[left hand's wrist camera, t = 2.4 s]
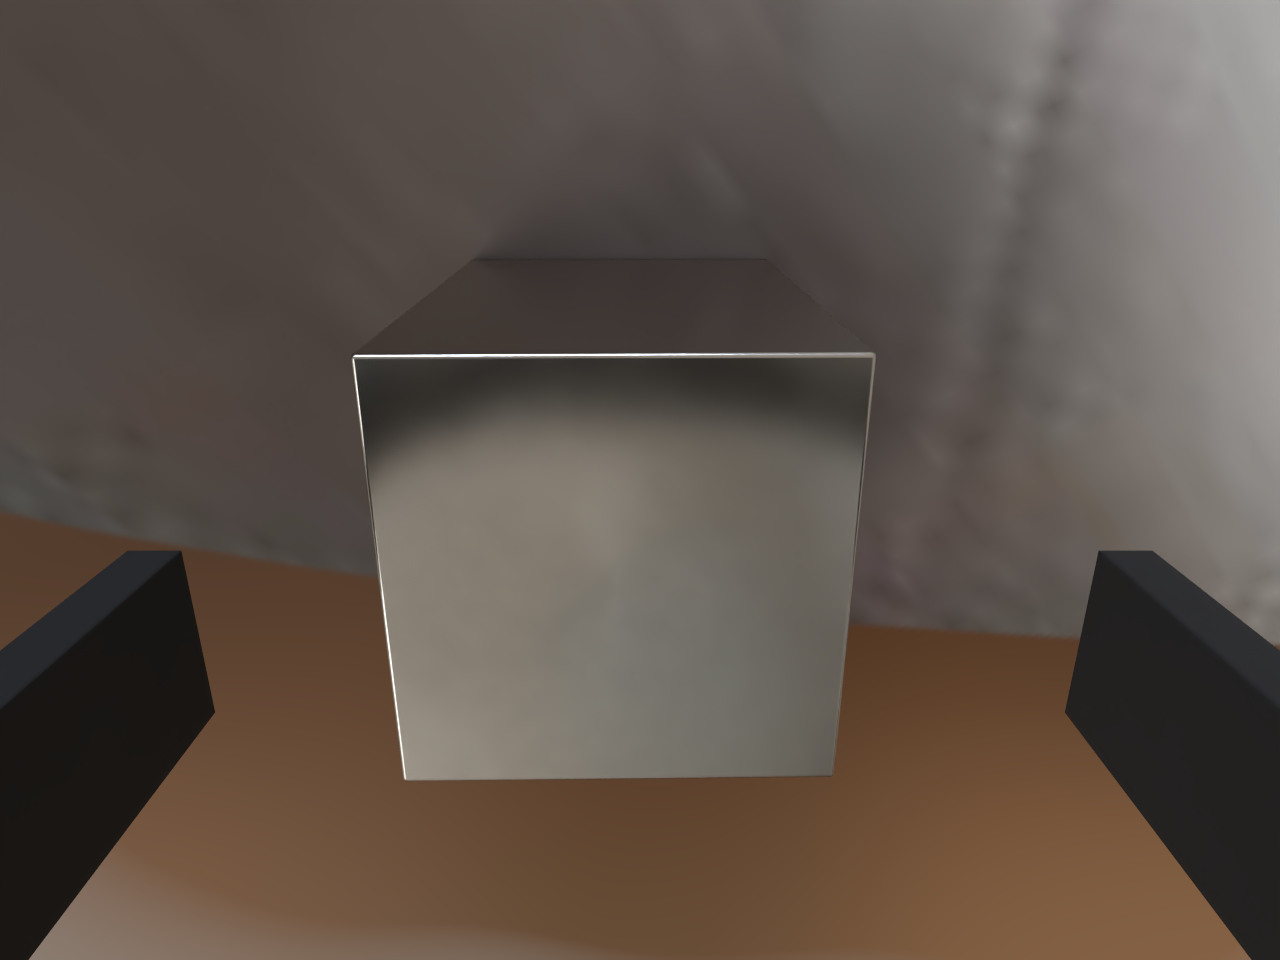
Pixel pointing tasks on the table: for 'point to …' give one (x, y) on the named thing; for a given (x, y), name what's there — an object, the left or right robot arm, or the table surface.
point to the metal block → (615, 519)
